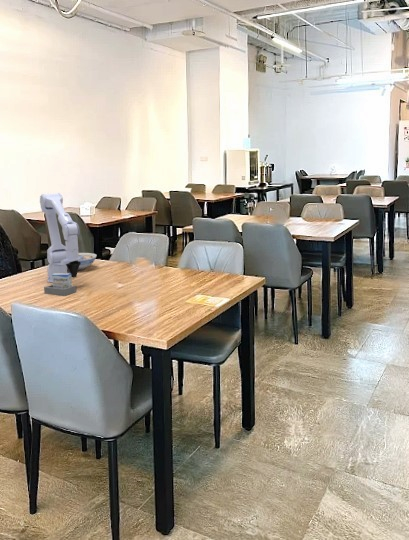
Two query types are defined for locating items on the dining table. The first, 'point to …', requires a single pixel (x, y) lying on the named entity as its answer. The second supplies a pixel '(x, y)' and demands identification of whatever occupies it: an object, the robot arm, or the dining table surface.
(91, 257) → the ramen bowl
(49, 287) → the cradle jig
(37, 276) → the dining table surface
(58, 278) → the medicine box
